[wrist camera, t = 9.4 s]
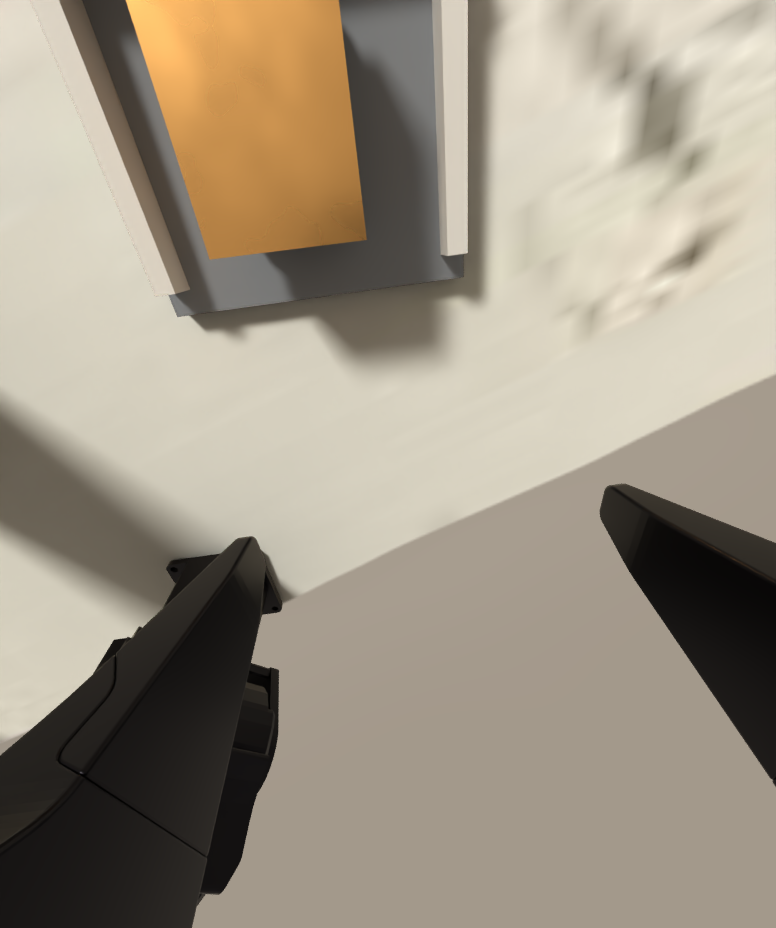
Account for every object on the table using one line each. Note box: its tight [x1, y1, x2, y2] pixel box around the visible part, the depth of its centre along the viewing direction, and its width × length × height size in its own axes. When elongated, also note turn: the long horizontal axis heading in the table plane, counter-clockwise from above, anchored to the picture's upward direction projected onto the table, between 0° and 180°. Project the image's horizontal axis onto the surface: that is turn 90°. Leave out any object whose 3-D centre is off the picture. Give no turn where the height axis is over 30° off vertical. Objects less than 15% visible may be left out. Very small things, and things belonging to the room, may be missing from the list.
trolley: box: [126, 0, 367, 260], centre depth 11 cm, size 7×5×5 cm
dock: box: [30, 0, 468, 317], centre depth 13 cm, size 11×13×3 cm
